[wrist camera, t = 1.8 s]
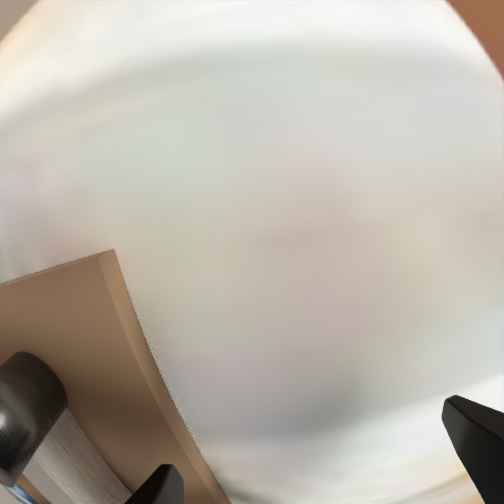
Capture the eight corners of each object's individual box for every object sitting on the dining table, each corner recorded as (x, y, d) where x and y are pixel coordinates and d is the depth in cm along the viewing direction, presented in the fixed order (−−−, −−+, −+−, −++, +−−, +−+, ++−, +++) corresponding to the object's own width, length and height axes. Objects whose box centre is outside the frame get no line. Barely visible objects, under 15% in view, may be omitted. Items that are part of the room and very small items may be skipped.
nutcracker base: (261, 544, 14) (263, 599, 9) (81, 529, 15) (66, 568, 9) (113, 248, 9) (11, 306, 4) (-73, 310, 10) (-124, 340, 5)
